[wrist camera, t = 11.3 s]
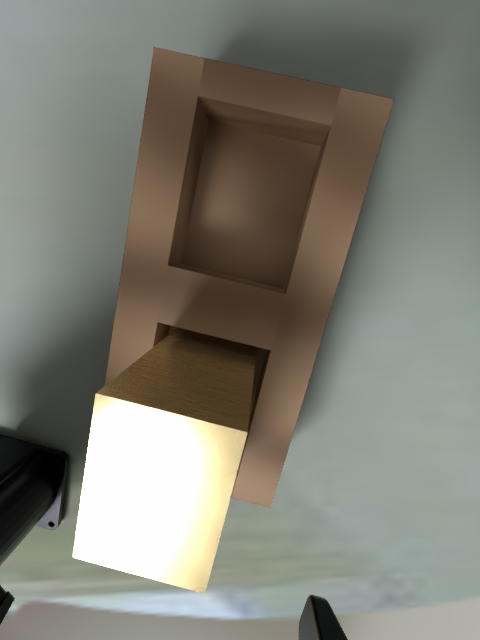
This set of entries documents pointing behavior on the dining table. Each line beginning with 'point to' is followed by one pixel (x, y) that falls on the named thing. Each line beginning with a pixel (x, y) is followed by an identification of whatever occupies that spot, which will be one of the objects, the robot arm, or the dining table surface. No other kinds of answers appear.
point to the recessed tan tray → (244, 228)
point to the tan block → (166, 459)
